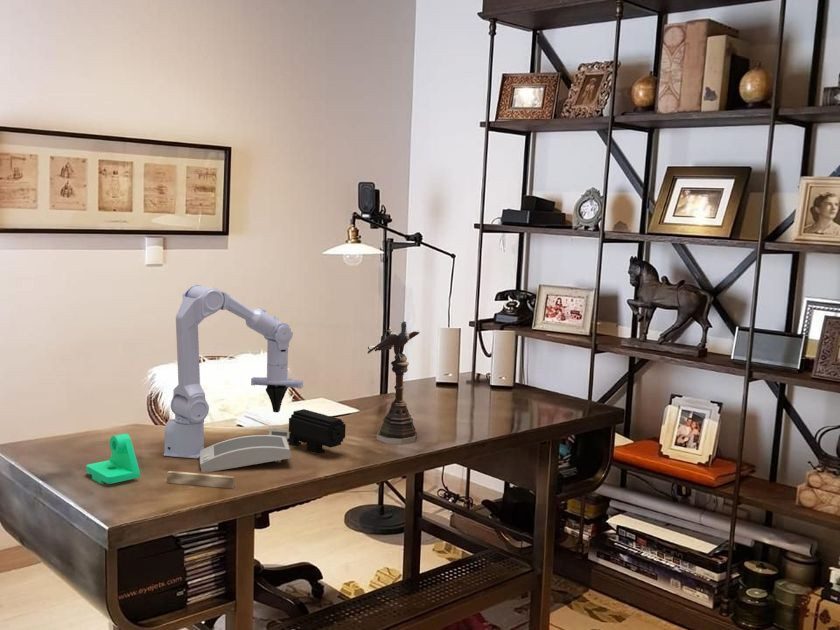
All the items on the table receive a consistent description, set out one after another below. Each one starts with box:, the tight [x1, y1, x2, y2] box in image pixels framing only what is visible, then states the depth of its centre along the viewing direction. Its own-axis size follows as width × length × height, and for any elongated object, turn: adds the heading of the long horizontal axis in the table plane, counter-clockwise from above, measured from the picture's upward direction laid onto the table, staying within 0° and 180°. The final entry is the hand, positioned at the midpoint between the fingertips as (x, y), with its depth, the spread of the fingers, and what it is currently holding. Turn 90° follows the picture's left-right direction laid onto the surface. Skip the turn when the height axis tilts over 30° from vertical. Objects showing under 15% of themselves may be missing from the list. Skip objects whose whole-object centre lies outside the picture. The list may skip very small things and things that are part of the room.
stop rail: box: [166, 470, 236, 489], centre depth 197 cm, size 16×1×2 cm, turn 82°
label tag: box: [268, 427, 291, 440], centre depth 235 cm, size 6×1×4 cm, turn 83°
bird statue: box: [367, 321, 421, 446], centre depth 242 cm, size 17×13×35 cm
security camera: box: [287, 408, 347, 455], centre depth 227 cm, size 7×18×10 cm, turn 51°
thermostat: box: [199, 434, 292, 473], centre depth 215 cm, size 11×22×6 cm, turn 105°
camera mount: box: [86, 433, 141, 485], centre depth 199 cm, size 12×8×10 cm, turn 46°
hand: (276, 411), depth 238 cm, fingers closed
